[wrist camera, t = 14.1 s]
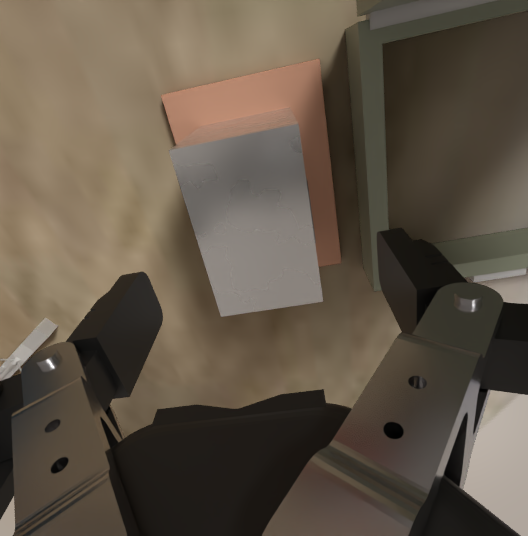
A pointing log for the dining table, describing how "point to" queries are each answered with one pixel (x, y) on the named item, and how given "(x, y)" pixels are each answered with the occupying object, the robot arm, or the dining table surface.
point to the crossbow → (26, 348)
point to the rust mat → (265, 100)
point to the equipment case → (373, 128)
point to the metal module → (251, 211)
